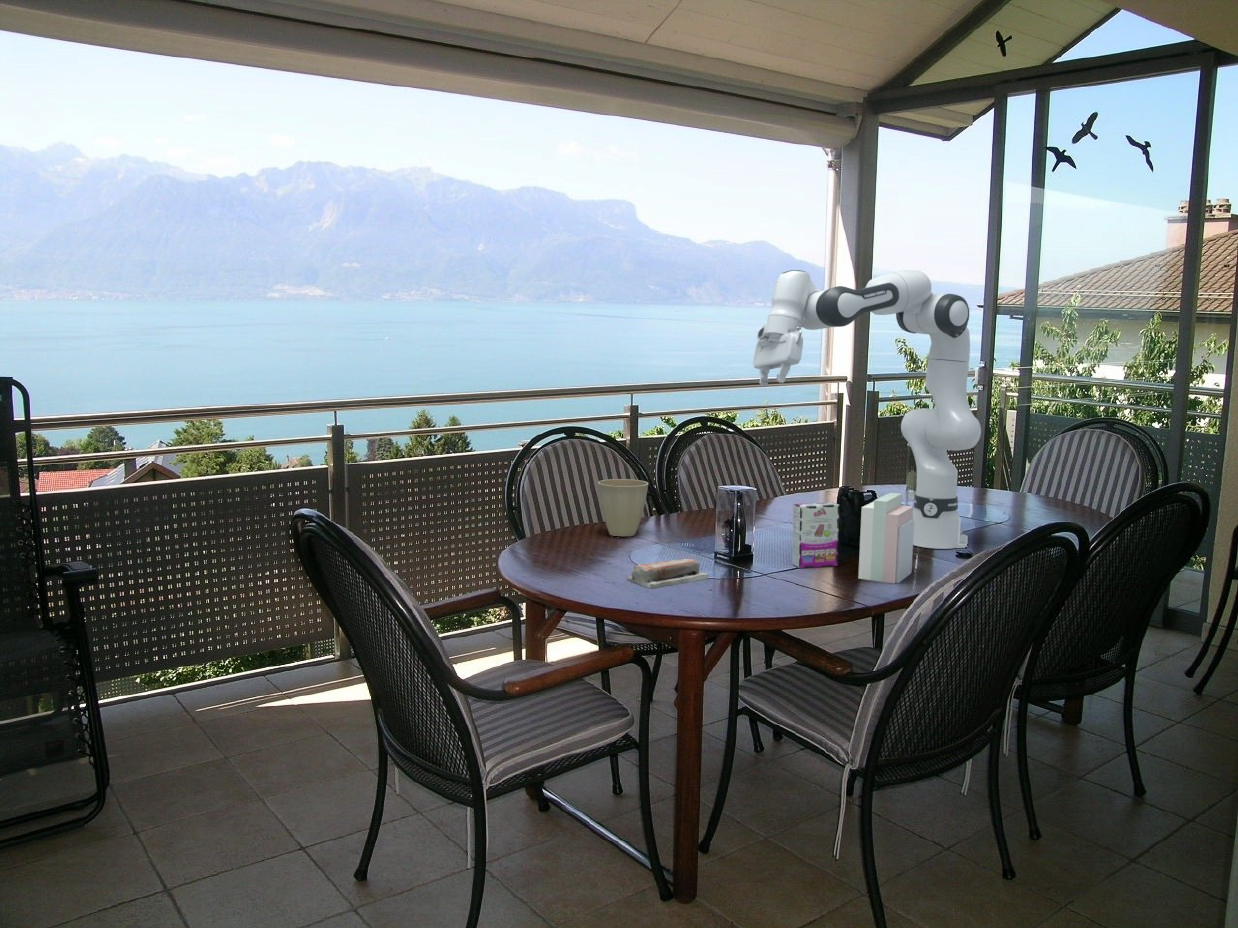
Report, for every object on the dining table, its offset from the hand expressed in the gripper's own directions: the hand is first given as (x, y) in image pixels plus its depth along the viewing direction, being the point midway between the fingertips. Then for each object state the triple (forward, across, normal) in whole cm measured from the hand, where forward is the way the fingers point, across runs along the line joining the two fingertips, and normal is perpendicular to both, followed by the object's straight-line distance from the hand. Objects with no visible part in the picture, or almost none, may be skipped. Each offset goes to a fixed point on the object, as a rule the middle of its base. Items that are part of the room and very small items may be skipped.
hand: (771, 383), depth 247 cm
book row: (+41, -12, -36) cm, 56 cm away
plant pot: (+46, +50, +14) cm, 70 cm away
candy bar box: (+43, +2, -24) cm, 49 cm away
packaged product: (+55, -1, +17) cm, 57 cm away
